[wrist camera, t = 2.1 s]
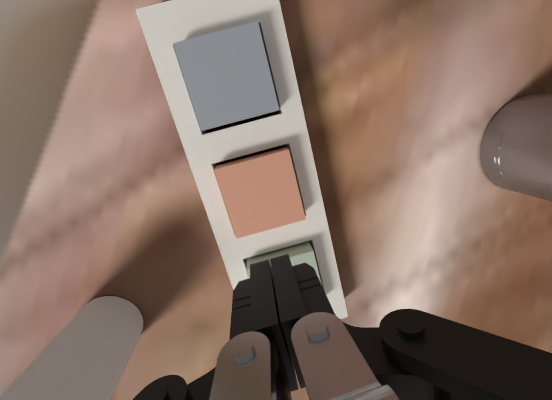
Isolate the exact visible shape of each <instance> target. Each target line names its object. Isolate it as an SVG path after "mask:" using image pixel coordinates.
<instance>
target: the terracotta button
mask: <svg viewBox="0 0 552 400" xmlns="http://www.w3.org/2000/svg"><path fill="white" fill-rule="evenodd" d="M214 171H215V174H216V177H217V180H218V184H219V187H220V190H221V193H222V196H223V199H224V202H225V205H226V208H227V211H228V214H229V217H230V220H231V223H232V226H233V230H234V233H235V236H236V239H237V238H241V237H244V236H248V235H252V234H255V233H259V232H263V231H266V230H270V229H273V228H277V227H281V226H284V225H288V224H292V223H295V222H299V221H302V220H306V218H305V214H304V210H303V205H302V201H301V197H300V193H299V189H298V185H297V181H296V176H295V172H294V168H293V164H292V160H291V156H290V152H289V149H288V148H286V147H284V148H280V149H277V150H273V151H269V152H265V153H262V154H258V155H254V156H251V157H247V158H243V159H240V160H236V161H232V162H229V163H225V164H221V165H218V166H216V168H215V169H214Z"/></svg>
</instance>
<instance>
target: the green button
mask: <svg viewBox="0 0 552 400" xmlns="http://www.w3.org/2000/svg"><path fill="white" fill-rule="evenodd" d="M285 254H289V258H290V261H291V264H292V266H295V265H298V264H302V263H307V264H308V265H310V266H312V267H313V268H314V269H315V271H316V274H317V276H318V278H319V280H320V276H319V272H318V268H317V264H316V259H315V255H314V251H313V249H312V247H311V245H310V243H309V241H308V242H305V243H301V244H297V245H294V246H290V247H287V248H283V249H279V250H276V251H272V252H269V253H265V254H261V255H258V256H254V257H250V258H247V272H248V276H249V278H250V264H253V263H257V262H260V261H264V260H268V259H269V262H270V259H271V258H274V257H278V256H282V255H285ZM270 265H271V262H270ZM320 282H321V280H320ZM321 285H322V284H321Z"/></svg>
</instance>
